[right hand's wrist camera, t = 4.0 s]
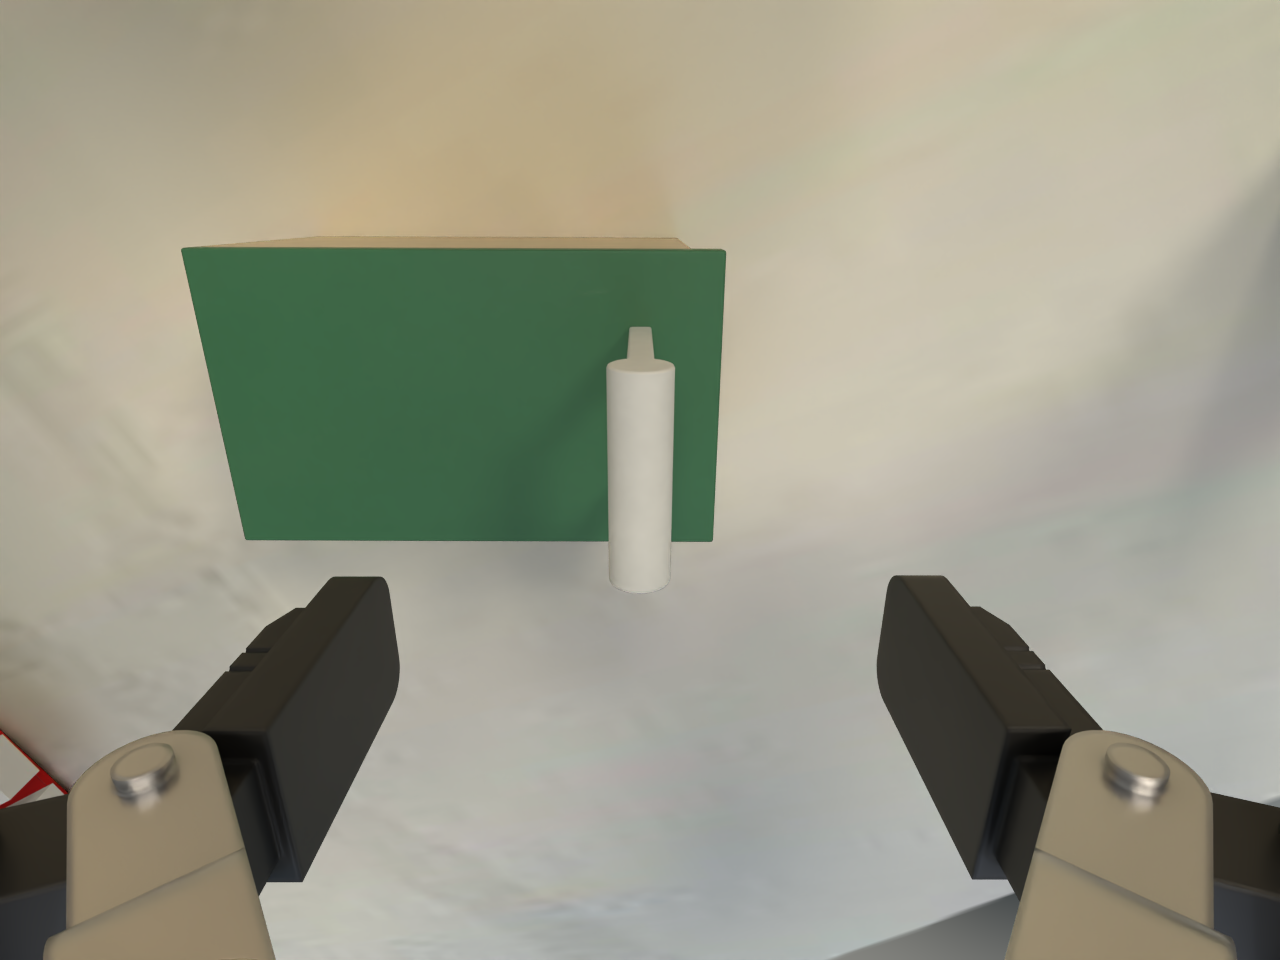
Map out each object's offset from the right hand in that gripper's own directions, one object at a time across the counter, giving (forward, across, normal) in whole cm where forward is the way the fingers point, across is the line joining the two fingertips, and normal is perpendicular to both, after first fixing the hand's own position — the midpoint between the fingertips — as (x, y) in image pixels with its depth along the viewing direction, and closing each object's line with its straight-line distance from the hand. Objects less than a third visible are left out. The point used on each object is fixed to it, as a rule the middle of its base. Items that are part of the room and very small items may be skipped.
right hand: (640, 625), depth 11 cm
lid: (+14, -6, 0) cm, 15 cm away
